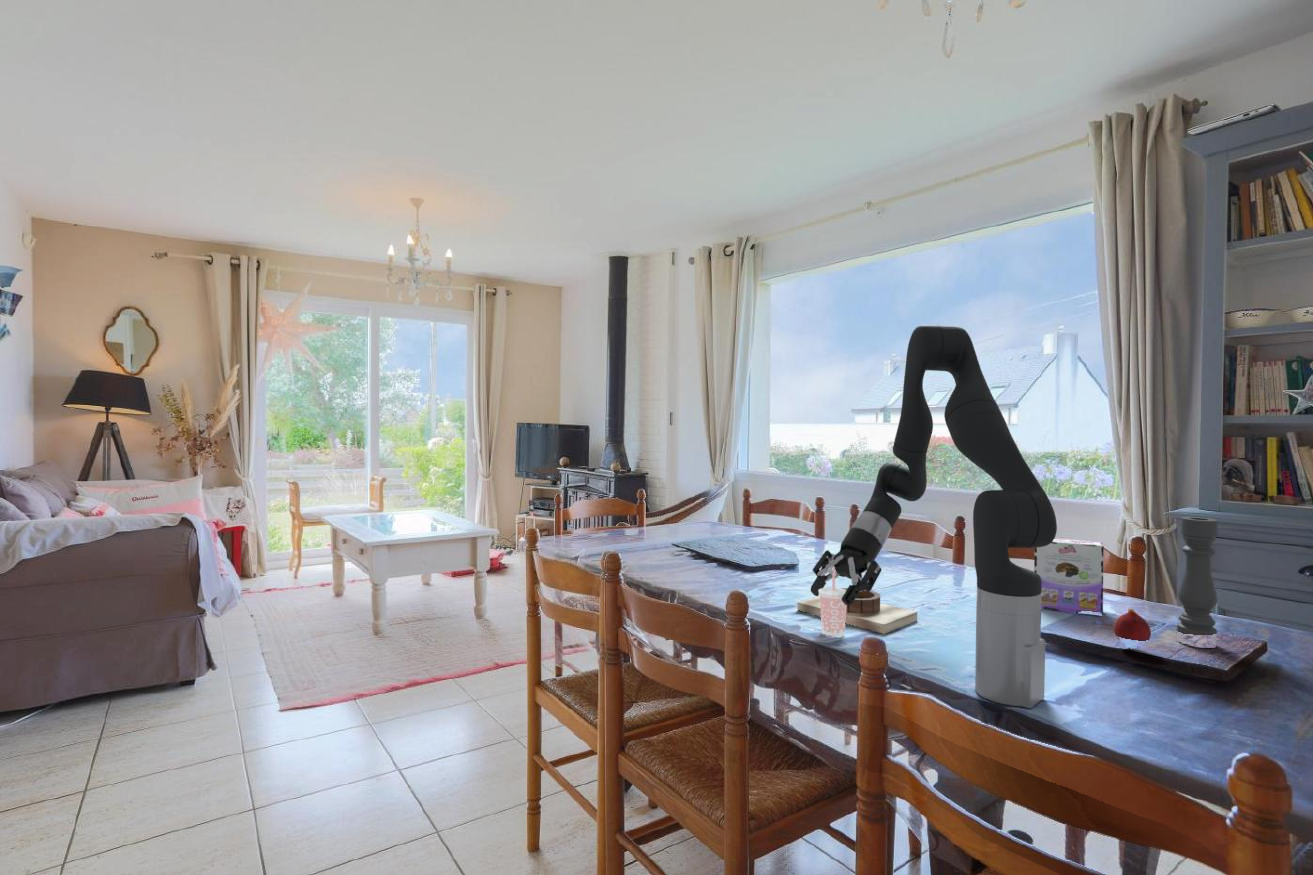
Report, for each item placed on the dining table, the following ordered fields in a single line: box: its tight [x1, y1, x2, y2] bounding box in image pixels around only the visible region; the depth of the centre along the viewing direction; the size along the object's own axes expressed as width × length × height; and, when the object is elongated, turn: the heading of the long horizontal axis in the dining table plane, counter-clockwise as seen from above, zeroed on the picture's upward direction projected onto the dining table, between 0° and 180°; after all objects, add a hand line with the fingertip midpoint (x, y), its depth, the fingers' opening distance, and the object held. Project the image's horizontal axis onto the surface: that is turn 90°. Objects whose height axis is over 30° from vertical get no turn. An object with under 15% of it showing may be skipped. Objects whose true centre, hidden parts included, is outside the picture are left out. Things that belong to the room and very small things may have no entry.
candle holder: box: [1176, 516, 1219, 635], centre depth 132 cm, size 6×6×25 cm
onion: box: [1113, 607, 1152, 641], centre depth 128 cm, size 6×6×8 cm
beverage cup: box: [818, 567, 847, 636], centre depth 137 cm, size 6×6×14 cm
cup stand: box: [796, 587, 918, 635], centre depth 150 cm, size 22×14×5 cm, turn 41°
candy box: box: [1033, 537, 1104, 614], centre depth 155 cm, size 14×6×16 cm, turn 58°
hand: (829, 598), depth 136 cm, fingers open, 8 cm apart
